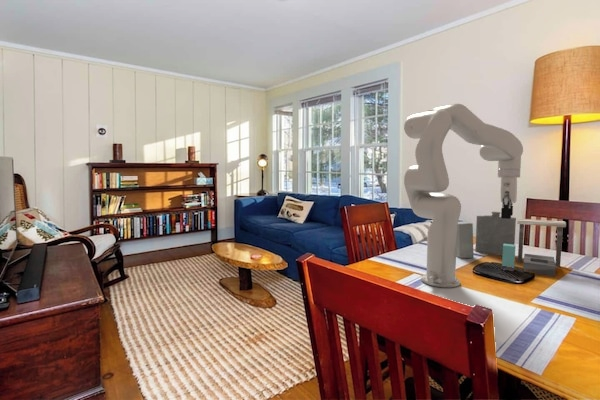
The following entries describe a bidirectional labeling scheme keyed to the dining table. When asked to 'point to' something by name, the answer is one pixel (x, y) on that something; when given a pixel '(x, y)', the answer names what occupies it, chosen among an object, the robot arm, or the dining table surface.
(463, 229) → the skincare box
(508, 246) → the peg
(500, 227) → the hip flask
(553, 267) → the socket stand
